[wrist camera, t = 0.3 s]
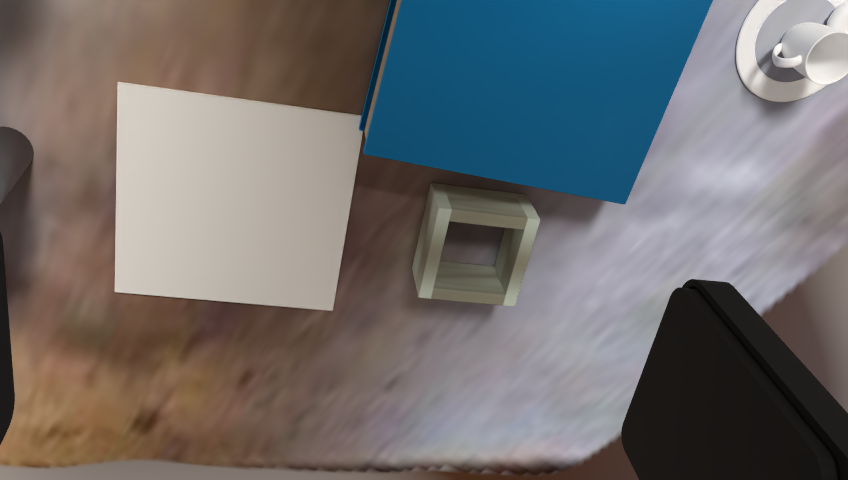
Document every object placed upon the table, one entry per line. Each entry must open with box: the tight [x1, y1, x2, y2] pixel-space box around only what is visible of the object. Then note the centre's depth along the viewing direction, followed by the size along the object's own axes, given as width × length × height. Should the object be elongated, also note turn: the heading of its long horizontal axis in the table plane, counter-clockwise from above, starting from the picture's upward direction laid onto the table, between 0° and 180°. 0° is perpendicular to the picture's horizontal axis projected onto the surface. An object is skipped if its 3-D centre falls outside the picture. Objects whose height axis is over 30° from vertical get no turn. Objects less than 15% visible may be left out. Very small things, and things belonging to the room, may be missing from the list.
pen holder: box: [412, 183, 540, 306], centre depth 51 cm, size 6×6×4 cm
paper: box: [115, 82, 363, 311], centre depth 49 cm, size 14×14×1 cm
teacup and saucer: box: [736, 0, 848, 102], centre depth 47 cm, size 9×8×4 cm
